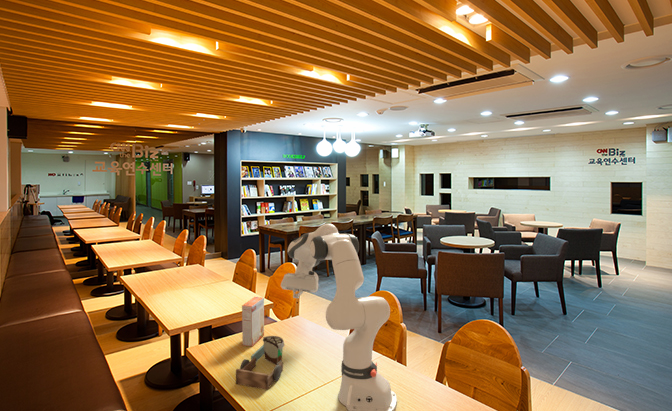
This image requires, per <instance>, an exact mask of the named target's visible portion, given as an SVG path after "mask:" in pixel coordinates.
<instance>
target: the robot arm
mask: <svg viewBox="0 0 672 411" xmlns="http://www.w3.org/2000/svg"><path fill="white" fill-rule="evenodd" d="M359 251H360V242H359V239H358V237H356V236H355V234H351V233H347V232H344V233H339V230H338V227H336V226H335V225H334V224H332V223H324V224H322V225H320V226H319V227H318V228H317V229H316V230H315V231H313V232H307V233H304V234H302V235H300V236H299V237H298V238H297V239H294V240H292V241H291V242H290V243H289V245H288V247H287V252H286V253H287V255H288V256H289V258H290V259H294V260H297V261H298V264H297V266H296V269H295V272H294V273H292V272H291V273H290V272H287V273H285V274H284V276H283V278H282V280H281V281H280V282H281V283H280V287H281V289H282V290H287V291H288V290H289V291H292V293H293V295H292V298H293V299H300V296H302V294H303V293H304V292H305V293H314V294H316V293H317V292H318V291H319V280H320V278H319V275H318V274H317V272H315V271H313V268H315V267H316V266H318V265H320V262H321V261H324V260H325V261H326V260H329V261H331V262H332V267H333V272H334V278H335V283H336V284H335V285H336V290H335V295H334V297H333V299H332V301H331V302H330V303H329V304H328V306H327V307H326V310H325V321H326V323H327V325H328V326H329V327H330V328H331V330H335V331H349V330H353V331H352V332H351V333H349V334H348V335H347V336H346V337H345V339H344V340H343V346H342V360H341V365H340V367H341V369H340V370H341V383H340V388H339V391H338V393H337V394H338V395H337V399H338V400H339V402H340V403H341V404H342V405H343V406H345V407H346V410H347V411H395V410H396V408H397V406H398V404H397V403H398V397H397V394H396V392H395V391H393V390H392V387H391V385H390V382H389V380H388V379H386V378H385V377H384V376H383V375H382V374H380V373H379V372H378V367H377V366H378V363H377V362H375V363H374V361H372V360H373V348H374V342H375V339H376V336H377V334H378V332H379V330H380V329H381V327H382V326H383V325H384V324H385V323H386V322H387V321H388V320H389V318H390V314H391V307H390V305H389V302H388V301H387V300H386V299H385V298H384V297H382V296H374V295H370V296H362V297H356V291H357V290H358V289H359V288H361V287H362V285H363V284H364V281H365V277H364V272H363V269H362V265H361V261H360V259H359V256H358V254H359ZM297 292H298V293H297Z"/></svg>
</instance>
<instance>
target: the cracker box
mask: <svg viewBox="0 0 672 411" xmlns="http://www.w3.org/2000/svg"><path fill="white" fill-rule="evenodd" d="M264 299H265V297H260V296H254V297H252V298H251V299H250V300H248V301H247V302H245V303H244V304H243V305H241V322H242V323H241V324H242V325H241V326H242V328H241V330H242V335H241V336H242V338H241V339H242V346H246V347H254V346H255V345H256V344H257V343H258V342H259V341H260V340H261V339H262V338H263V337H265V300H264Z"/></svg>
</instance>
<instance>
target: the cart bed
mask: <svg viewBox="0 0 672 411" xmlns="http://www.w3.org/2000/svg"><path fill="white" fill-rule="evenodd" d="M256 367H257V362H256V358H255V357H254V358H253V359H252V360H251V359H250V360H249V359H247V358H245V359H243V360H242V361H241V363H240V366H239V368H236V369H235V384H236V385H239V386H244V387H249V388H254V389H260V390H264V391H268V390H269V388H270V387H271V386H272V384H274V383H275V381H276V382H278V381H279V380H280V378H281V375H282V373H283V372H284V362H283V361H281V362H280V363H279V364H278V365H275V366H274V368H273V370H272V371H271V372H270V373H269V374H268V373H263V372H257V371H253V370H254V369H255V368H256Z"/></svg>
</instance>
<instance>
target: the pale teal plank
mask: <svg viewBox="0 0 672 411" xmlns="http://www.w3.org/2000/svg"><path fill="white" fill-rule="evenodd" d="M263 356H264V344H262V346H260V347H259V348H258V349H257V350H256V351H255V352H253V354H252V355H251V356H250V361H251V360H252V359H253V358H254V357H255V358H256V363H257V362H259V360H260V359H261V358H262V357H263Z"/></svg>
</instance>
